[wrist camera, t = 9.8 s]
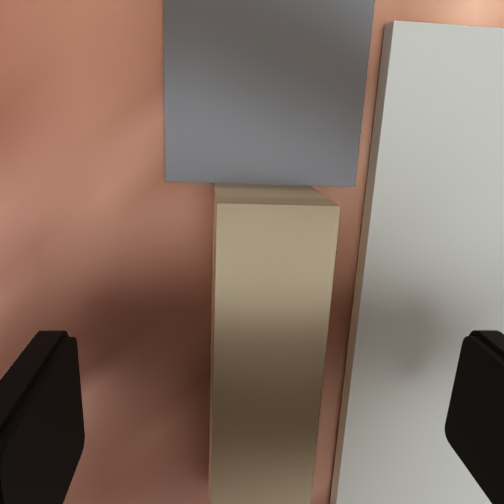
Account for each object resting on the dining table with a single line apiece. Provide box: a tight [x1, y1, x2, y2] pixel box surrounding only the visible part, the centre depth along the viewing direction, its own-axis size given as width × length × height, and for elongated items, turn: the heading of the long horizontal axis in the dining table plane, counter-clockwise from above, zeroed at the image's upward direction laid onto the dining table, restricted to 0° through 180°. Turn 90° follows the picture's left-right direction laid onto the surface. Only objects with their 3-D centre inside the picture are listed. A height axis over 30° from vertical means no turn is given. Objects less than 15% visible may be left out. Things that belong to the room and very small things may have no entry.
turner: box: [163, 0, 375, 504], centre depth 11 cm, size 16×5×4 cm, turn 178°
